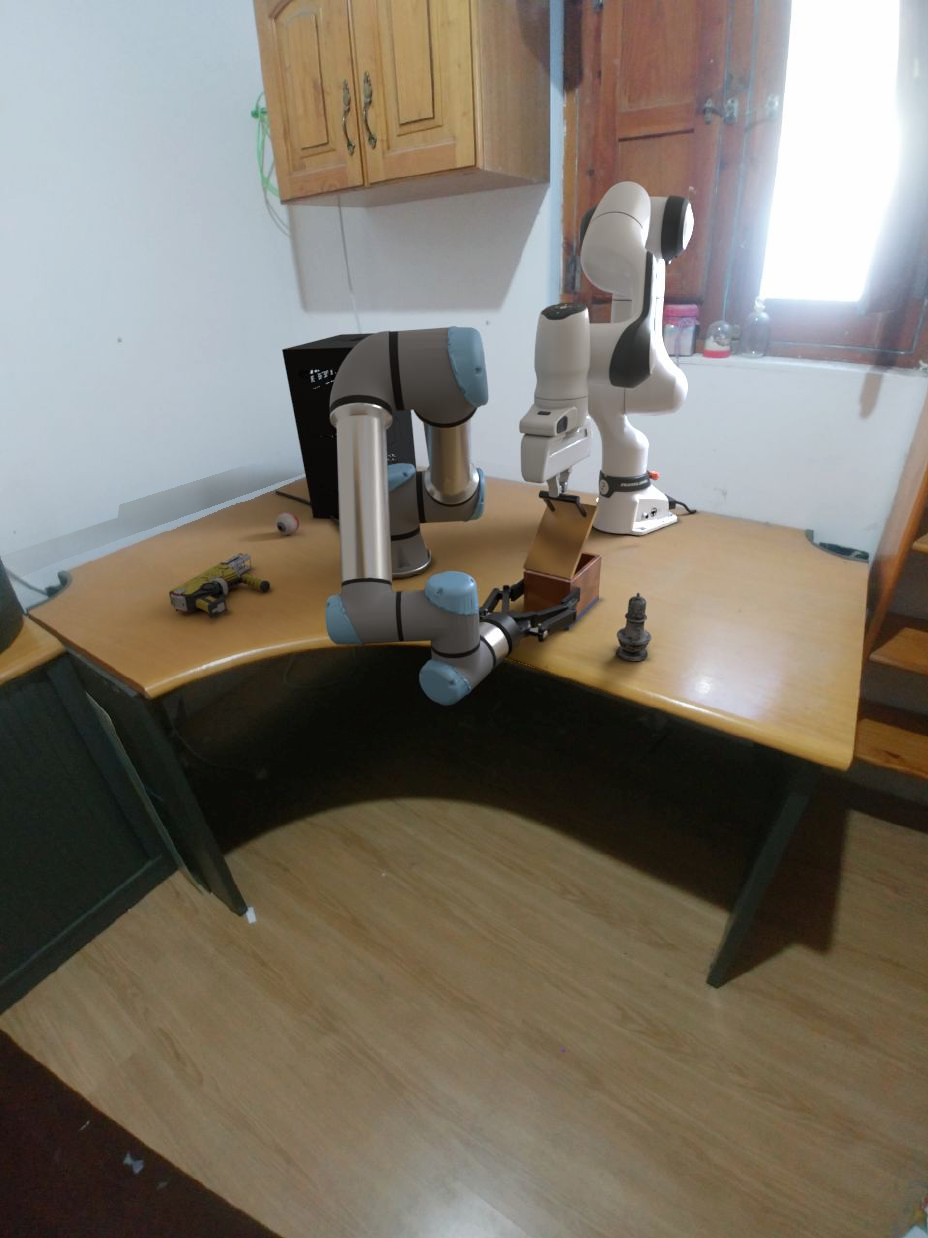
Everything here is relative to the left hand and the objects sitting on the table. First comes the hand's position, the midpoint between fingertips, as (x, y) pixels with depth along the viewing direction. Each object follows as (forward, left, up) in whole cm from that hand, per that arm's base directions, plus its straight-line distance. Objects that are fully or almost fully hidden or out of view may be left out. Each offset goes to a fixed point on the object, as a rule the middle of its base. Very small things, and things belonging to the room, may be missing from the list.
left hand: (553, 587), depth 116 cm
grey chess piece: (+18, -5, -7) cm, 20 cm away
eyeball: (-83, +5, -7) cm, 83 cm away
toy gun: (-66, -25, -7) cm, 71 cm away
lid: (0, +3, +9) cm, 9 cm away
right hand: (0, +1, +18) cm, 18 cm away
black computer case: (-84, +39, -7) cm, 93 cm away
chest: (0, +4, -7) cm, 8 cm away
